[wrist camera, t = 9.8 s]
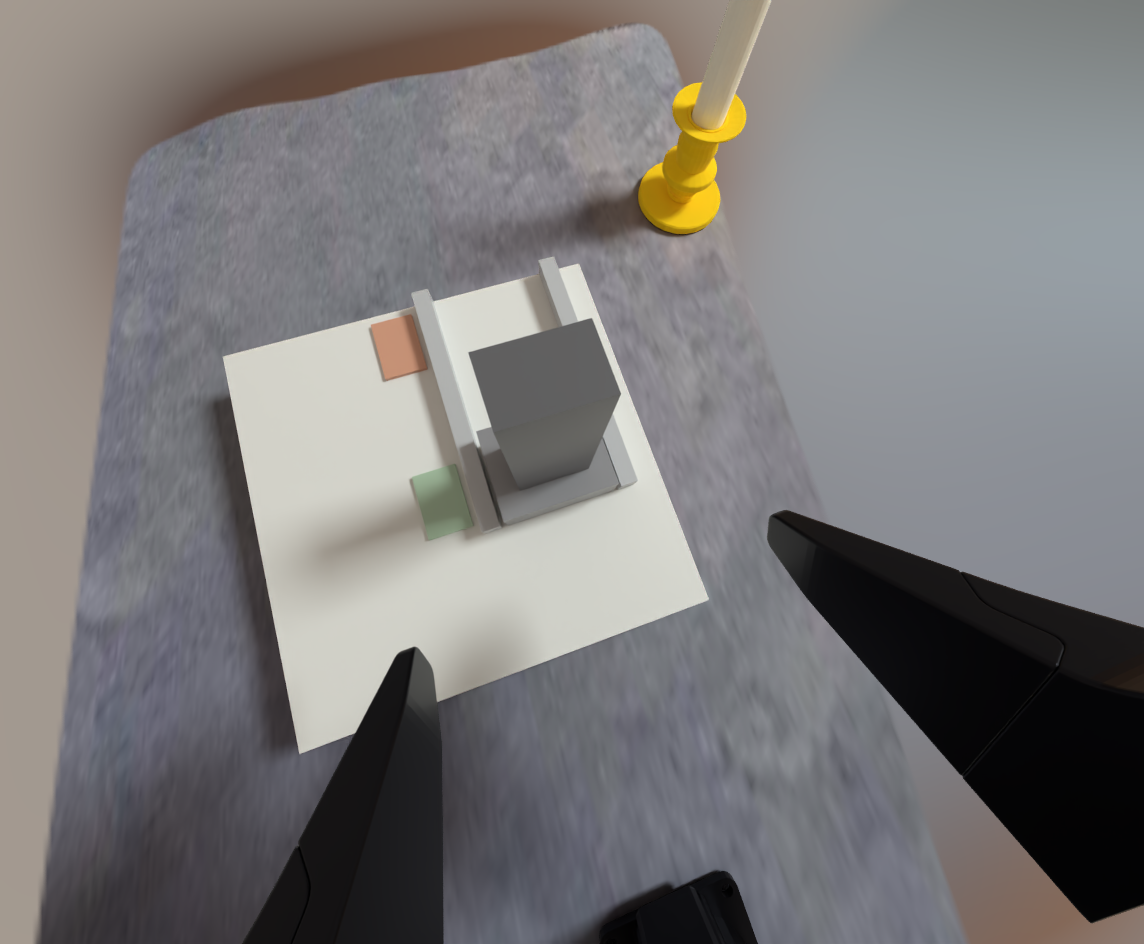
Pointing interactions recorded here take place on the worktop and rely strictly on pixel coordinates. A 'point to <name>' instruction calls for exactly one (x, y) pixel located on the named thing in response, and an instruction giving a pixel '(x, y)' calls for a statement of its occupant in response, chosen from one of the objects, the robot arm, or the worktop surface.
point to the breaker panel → (435, 507)
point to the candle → (703, 129)
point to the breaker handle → (547, 419)
